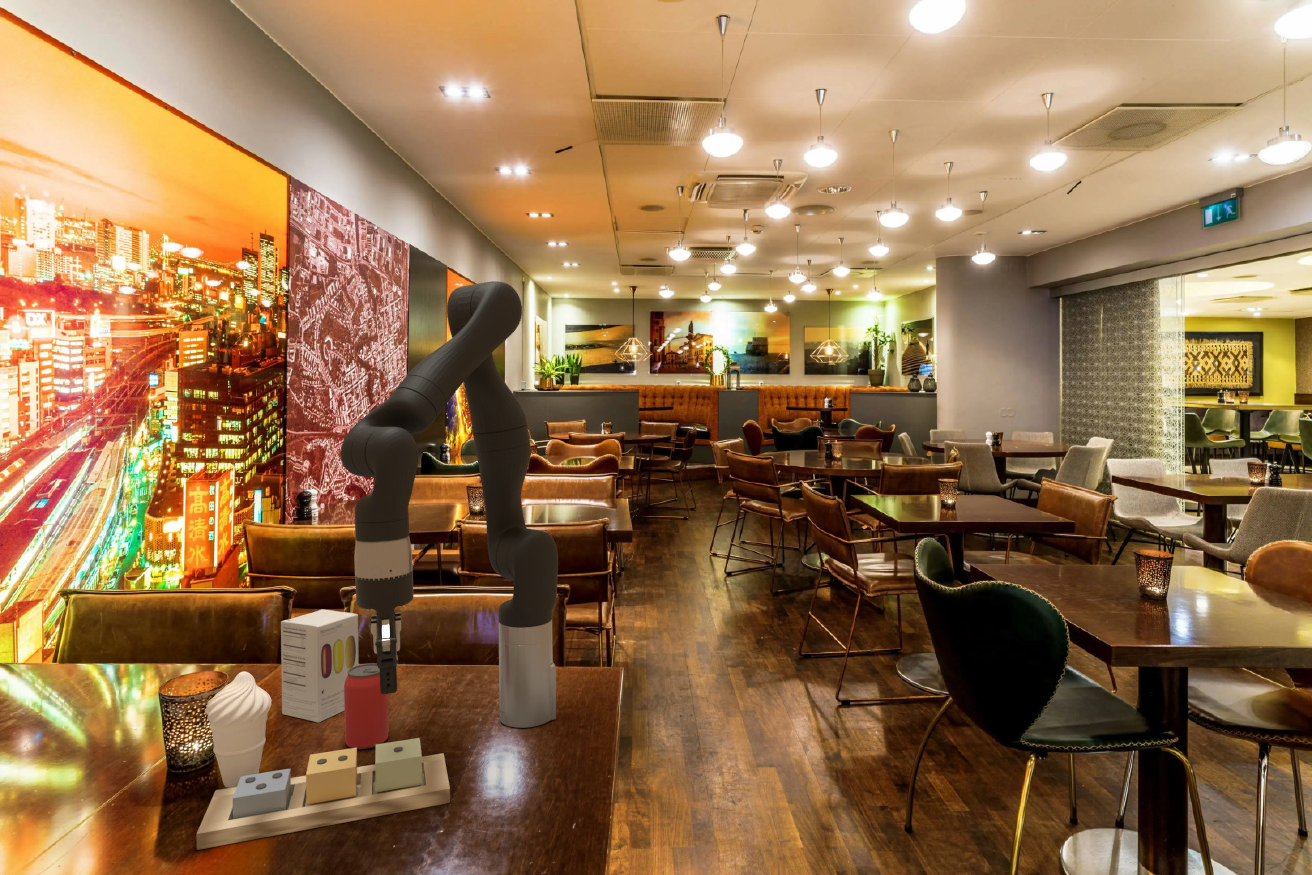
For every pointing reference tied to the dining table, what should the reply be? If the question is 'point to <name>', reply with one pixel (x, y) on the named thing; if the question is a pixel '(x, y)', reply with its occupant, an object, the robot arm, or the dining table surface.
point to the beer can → (365, 708)
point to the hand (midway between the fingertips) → (389, 691)
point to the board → (323, 806)
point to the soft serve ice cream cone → (238, 727)
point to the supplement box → (317, 662)
